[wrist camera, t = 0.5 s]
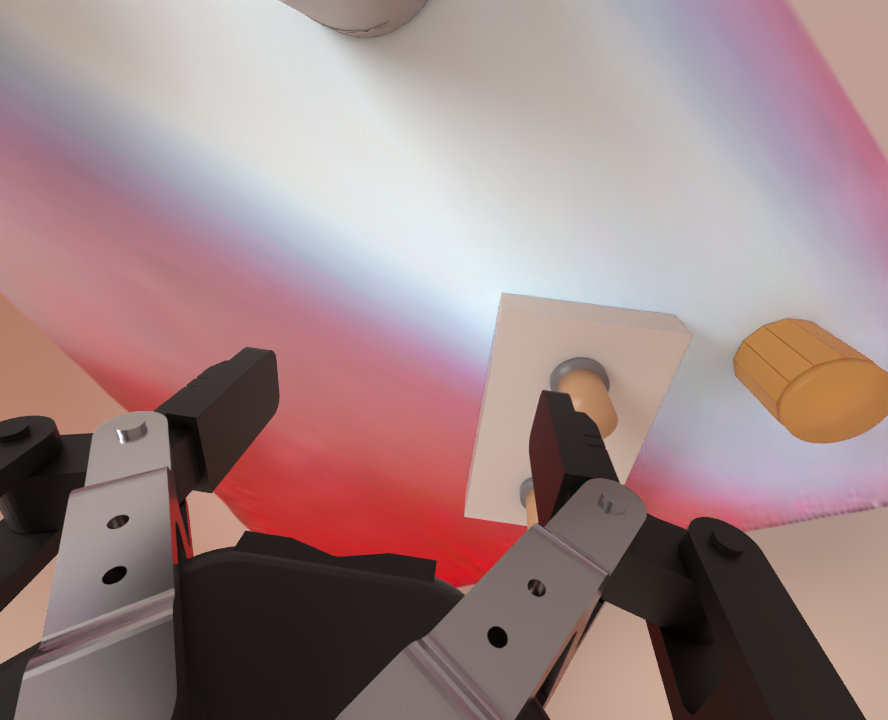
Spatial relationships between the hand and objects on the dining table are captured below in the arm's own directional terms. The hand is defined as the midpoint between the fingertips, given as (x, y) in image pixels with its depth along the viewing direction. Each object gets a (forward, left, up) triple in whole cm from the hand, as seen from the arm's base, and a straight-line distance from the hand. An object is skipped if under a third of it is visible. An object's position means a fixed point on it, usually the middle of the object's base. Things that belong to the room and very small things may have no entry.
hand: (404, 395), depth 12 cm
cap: (+5, +24, -18) cm, 30 cm away
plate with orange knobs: (+13, +10, -18) cm, 24 cm away
